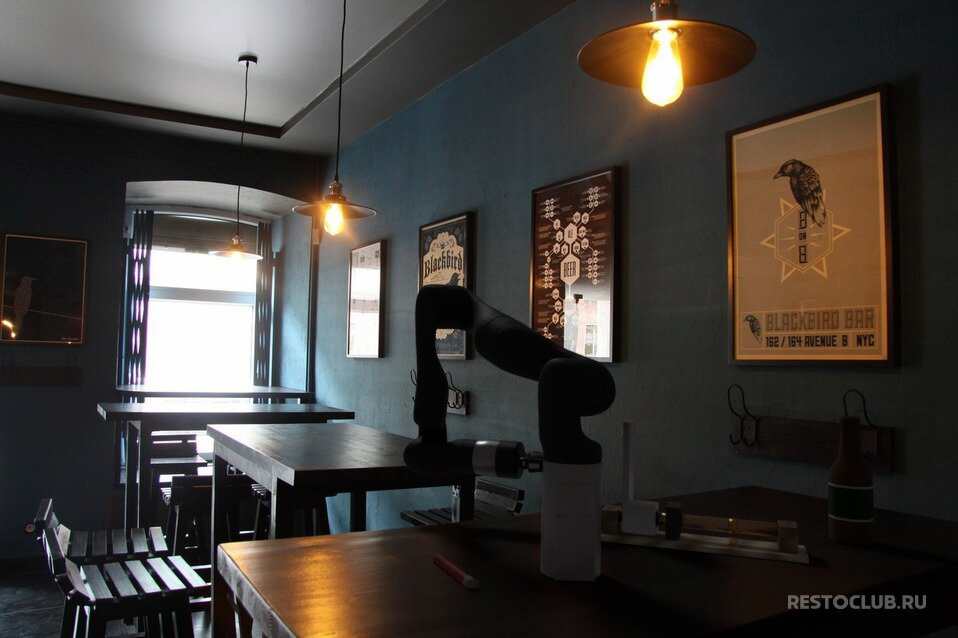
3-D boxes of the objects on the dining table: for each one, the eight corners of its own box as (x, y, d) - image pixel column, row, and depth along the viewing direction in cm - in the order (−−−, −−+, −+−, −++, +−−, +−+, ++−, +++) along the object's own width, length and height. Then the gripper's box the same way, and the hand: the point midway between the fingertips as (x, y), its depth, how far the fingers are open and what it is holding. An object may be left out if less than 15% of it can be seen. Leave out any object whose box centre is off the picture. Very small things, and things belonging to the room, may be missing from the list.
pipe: (607, 522, 135) (607, 508, 135) (609, 519, 137) (610, 505, 137) (791, 540, 124) (791, 525, 124) (790, 537, 126) (790, 522, 126)
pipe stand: (590, 539, 132) (591, 510, 133) (599, 530, 141) (600, 502, 141) (808, 563, 120) (808, 530, 120) (804, 551, 128) (804, 520, 128)
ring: (665, 537, 129) (665, 506, 130) (668, 531, 135) (668, 501, 135) (678, 539, 129) (679, 507, 129) (681, 533, 134) (681, 502, 134)
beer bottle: (819, 538, 139) (818, 414, 141) (849, 536, 142) (848, 415, 143) (853, 548, 132) (851, 417, 133) (883, 545, 134) (882, 417, 136)
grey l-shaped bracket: (621, 532, 132) (623, 422, 133) (626, 526, 138) (628, 420, 139) (655, 536, 130) (656, 423, 131) (658, 529, 135) (659, 421, 137)
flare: (467, 592, 100) (468, 580, 101) (432, 564, 114) (432, 553, 114) (478, 591, 101) (479, 578, 101) (441, 563, 115) (442, 553, 115)
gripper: (488, 443, 138) (576, 450, 132) (509, 437, 151) (590, 443, 145) (487, 482, 138) (575, 490, 132) (508, 472, 150) (589, 480, 144)
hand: (582, 465), depth 138 cm, fingers closed
